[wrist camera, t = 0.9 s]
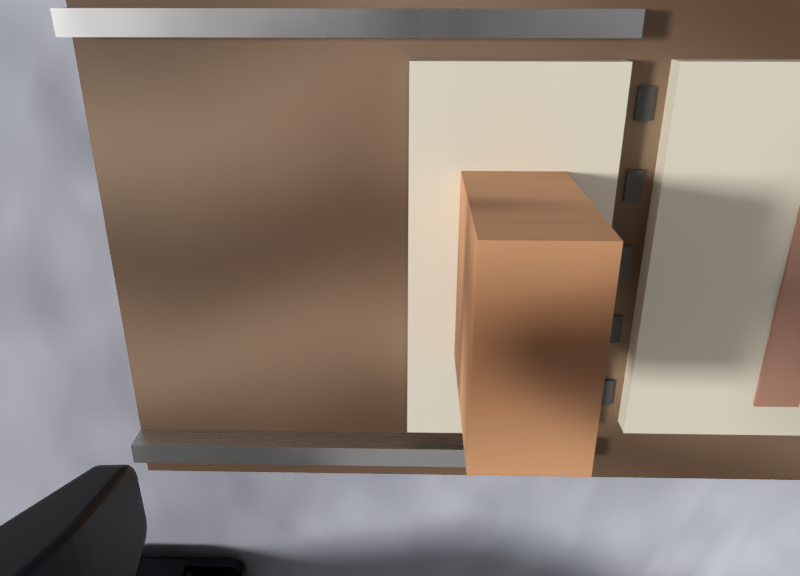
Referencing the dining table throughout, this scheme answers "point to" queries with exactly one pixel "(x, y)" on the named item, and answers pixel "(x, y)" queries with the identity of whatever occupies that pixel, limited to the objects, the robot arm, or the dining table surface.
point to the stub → (513, 256)
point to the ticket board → (388, 224)
